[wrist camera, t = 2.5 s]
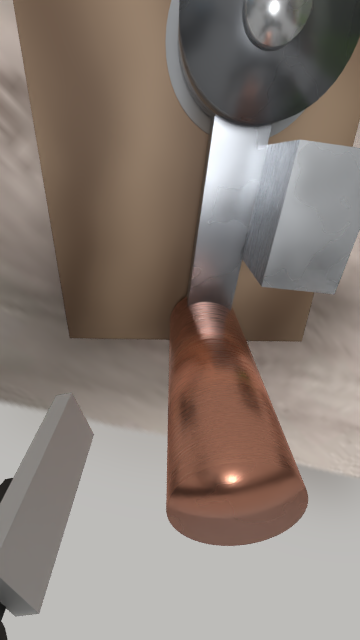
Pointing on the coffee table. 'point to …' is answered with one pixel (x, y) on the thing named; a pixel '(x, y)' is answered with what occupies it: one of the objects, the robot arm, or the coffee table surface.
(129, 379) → the coffee table surface
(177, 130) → the board
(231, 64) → the lever
